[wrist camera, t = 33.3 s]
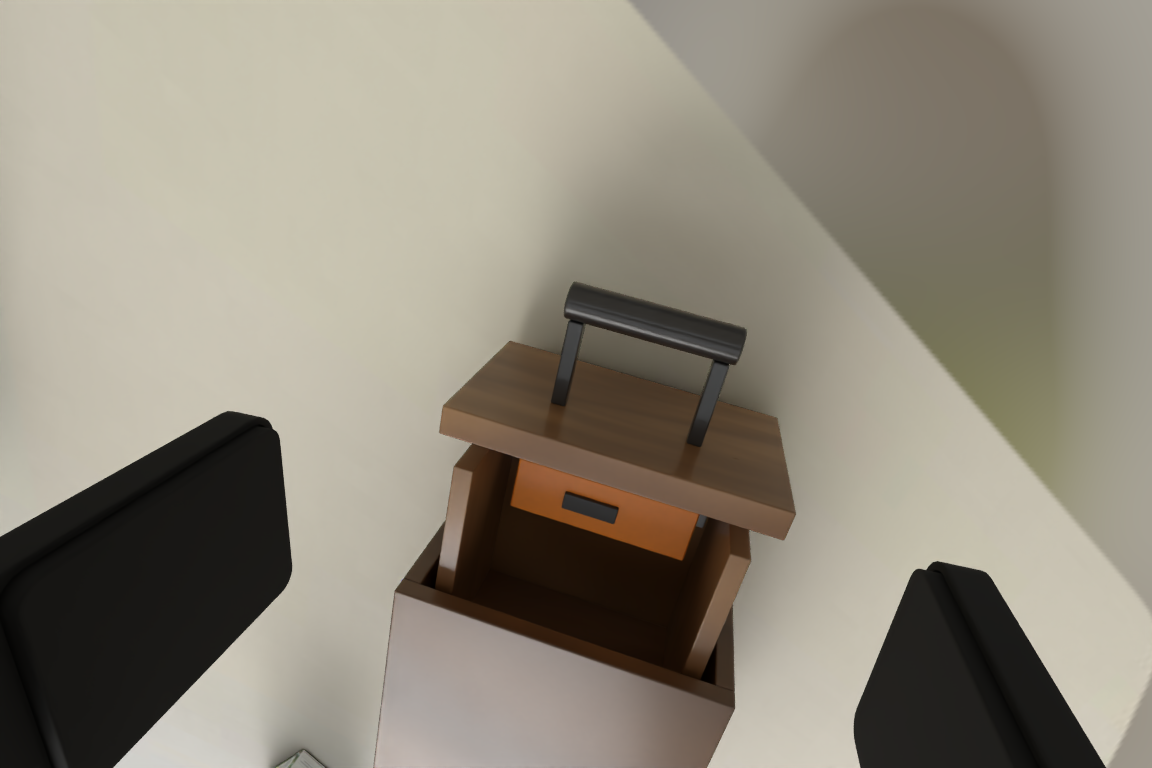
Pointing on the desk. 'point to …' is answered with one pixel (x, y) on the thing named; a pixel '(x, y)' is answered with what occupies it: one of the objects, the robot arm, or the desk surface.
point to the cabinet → (534, 692)
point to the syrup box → (300, 761)
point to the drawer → (612, 485)
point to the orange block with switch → (604, 509)
